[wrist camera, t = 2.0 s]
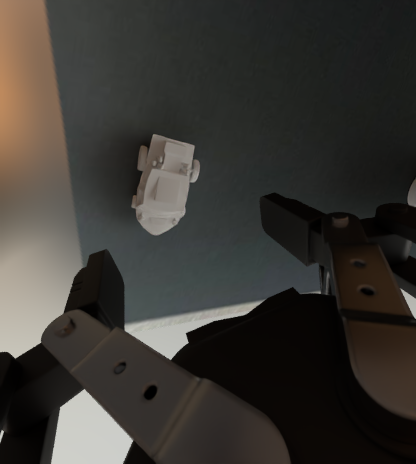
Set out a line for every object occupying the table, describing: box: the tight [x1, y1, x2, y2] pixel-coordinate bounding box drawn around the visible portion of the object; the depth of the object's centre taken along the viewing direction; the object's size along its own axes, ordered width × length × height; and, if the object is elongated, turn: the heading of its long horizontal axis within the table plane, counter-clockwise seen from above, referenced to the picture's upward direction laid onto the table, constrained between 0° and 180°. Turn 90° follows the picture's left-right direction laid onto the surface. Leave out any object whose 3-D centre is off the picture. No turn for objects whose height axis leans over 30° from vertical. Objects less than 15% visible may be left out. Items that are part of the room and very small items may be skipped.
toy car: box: [131, 134, 200, 235], centre depth 19 cm, size 5×8×4 cm, turn 164°
